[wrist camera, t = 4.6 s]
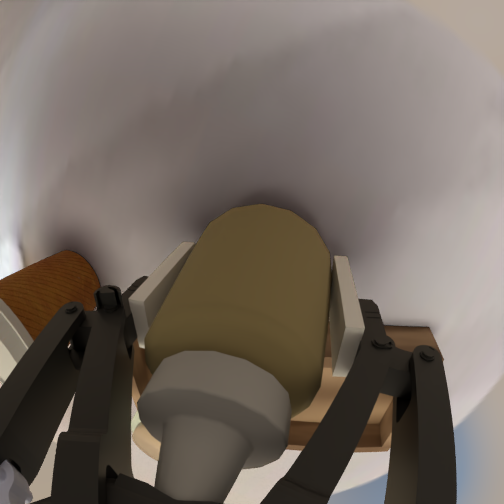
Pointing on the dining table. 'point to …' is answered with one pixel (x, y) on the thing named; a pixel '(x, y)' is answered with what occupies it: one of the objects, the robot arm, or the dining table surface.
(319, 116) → the dining table surface
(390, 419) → the caddy
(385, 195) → the dining table surface
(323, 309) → the squeeze bottle
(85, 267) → the disposable coffee cup
